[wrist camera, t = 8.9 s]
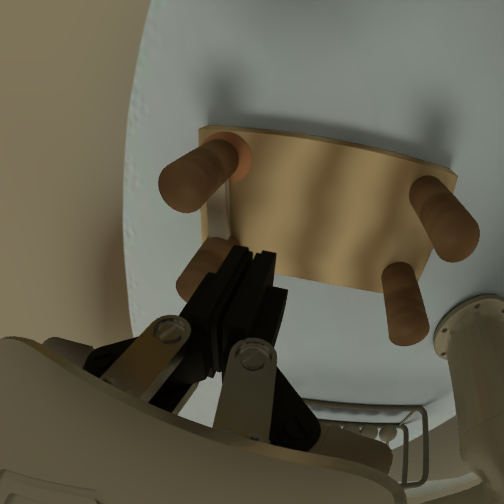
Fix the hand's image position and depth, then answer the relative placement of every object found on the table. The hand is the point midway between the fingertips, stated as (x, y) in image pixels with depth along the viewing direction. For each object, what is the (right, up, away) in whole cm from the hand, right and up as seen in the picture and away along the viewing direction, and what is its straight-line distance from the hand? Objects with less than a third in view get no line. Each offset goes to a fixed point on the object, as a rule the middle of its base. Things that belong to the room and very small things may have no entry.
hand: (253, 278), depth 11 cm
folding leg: (-3, +5, +15) cm, 16 cm away
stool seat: (+7, +5, +15) cm, 17 cm away
